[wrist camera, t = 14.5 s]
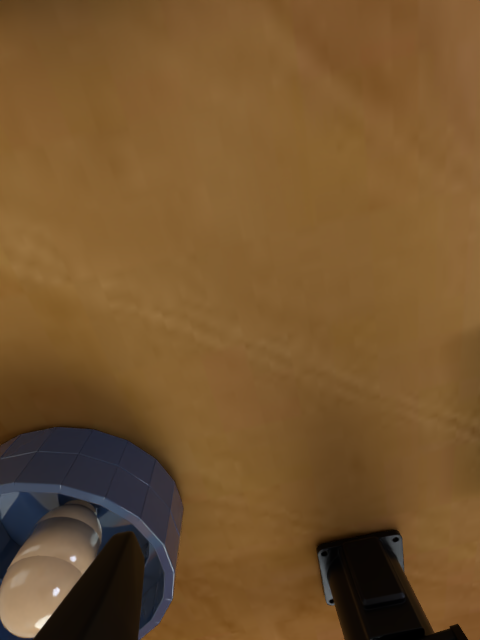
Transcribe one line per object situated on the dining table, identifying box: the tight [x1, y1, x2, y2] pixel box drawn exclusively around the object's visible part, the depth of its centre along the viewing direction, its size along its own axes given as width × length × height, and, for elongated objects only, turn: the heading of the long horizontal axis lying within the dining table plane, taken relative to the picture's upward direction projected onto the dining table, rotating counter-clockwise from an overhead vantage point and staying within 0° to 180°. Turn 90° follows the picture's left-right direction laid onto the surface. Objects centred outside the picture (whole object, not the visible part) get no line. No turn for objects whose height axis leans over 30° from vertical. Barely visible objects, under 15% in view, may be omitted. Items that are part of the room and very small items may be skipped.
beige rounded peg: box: [0, 500, 102, 638], centre depth 20 cm, size 4×4×7 cm
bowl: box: [0, 427, 183, 640], centre depth 21 cm, size 14×14×5 cm
